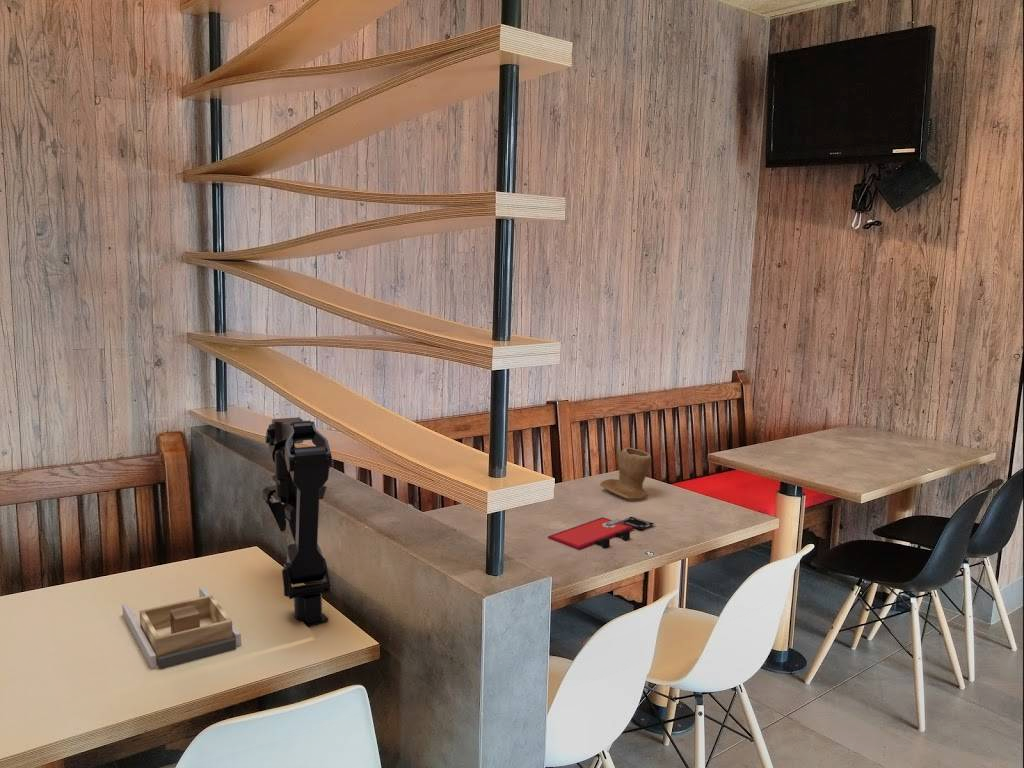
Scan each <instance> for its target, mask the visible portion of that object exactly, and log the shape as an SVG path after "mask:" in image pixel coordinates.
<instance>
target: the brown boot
mask: <svg viewBox="0 0 1024 768" xmlns="http://www.w3.org/2000/svg"><path fill="white" fill-rule="evenodd" d="M651 465H652V455H651V454H650V453H649V452H647V451H644V450H642V449H637V448H633V447H625V448H623V449H622V450H621V451H620V453H619V457H618V476H619V477H618V479H616V478H609V479H606V480H602V481H601V482H600V483H599V486H600V487H601V488H602V489H605V490H607V491H609V492H611V493H612V494H614V495H617V496H619V497H621V498H623V499H626V500H641V499H644V498H646V497H647V496H648V493H647V492H646V491H645V489H644V488H643V486H644V482H645V479H646V477H647V475H648V473H649V472H650V467H651Z"/></svg>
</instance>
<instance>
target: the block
mask: <svg viewBox="0 0 1024 768" xmlns="http://www.w3.org/2000/svg"><path fill="white" fill-rule="evenodd" d="M170 625H171V634H173V633H177V632H181V631H185V630H189V629H193V628H197V627H200V617H199V612H198V611H197V610H196V608H195V607H194V605H191V606H187V607H183V608H178V609H174V610H170Z"/></svg>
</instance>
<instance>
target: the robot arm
mask: <svg viewBox="0 0 1024 768" xmlns="http://www.w3.org/2000/svg"><path fill="white" fill-rule="evenodd" d="M264 440H265V444H267V446H268V447H267V450H268V454H269V456H270V458H271V460H272V461H273V463H274V471H275V473H274V474H275V475H272V477H271V478H272V481H274V483H275V485H270V486H266V487H265V488H264V489H263V490H262V500H264V503H265V505H267V508H268V510H269V512H270V513H271V515H272V518H273V520H274V521H275V523H276V525H277V528H278V530H279V531H280V532H286V527H288V530H289V532H290V534H291V537H292V540H293V542H294V543H292V544H289V545H288V547H287V552H286V553H287V555H286V562H285V563H284V564H283V569H282V570H281V576H282V585H283V595H284V597H287V598H288V599H289V600H293V612H294V614H293V617H294V619H295V620H296V621H297V622H303V624H304V625H305V626H306V627H311V626H315V625H318V624H322V623H326V622H328V621H329V617H327V615H326V614H325V613H324V612H323V597H322V596H323V594H330V592H331V582H330V576H329V572H328V571H329V570H328V566H327V560H326V558H325V557H324V554H323V552H322V550H321V547H320V546H319V543H318V535H319V533H318V532H319V511H320V499H324V497H325V495H326V490H327V488H328V487H327V485H325V484H326V483H327V482H328V480H329V475H330V469H331V468H332V467H333V456H332V451H331V449H330V444H329V441H328V439H327V438H326V437H325V436H324V435H323V434H322V433H321V432H319V431H318V430H317V427H316V425H315V422H314V421H311V420H304V419H302V418H301V417H298V416H297V417H283V418H273V419H272V420H271V423H269V424H268V428H267V429H266V433H265V438H264ZM304 441H311V442H312V444H313V446H301V447H296V445H295V444H303V443H304ZM319 581H321V582H319ZM312 582H313V583H312ZM314 582H316V583H314ZM306 583H309V584H306ZM299 584H302V585H299ZM295 585H296V586H295Z"/></svg>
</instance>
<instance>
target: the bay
mask: <svg viewBox="0 0 1024 768" xmlns="http://www.w3.org/2000/svg"><path fill="white" fill-rule="evenodd" d="M198 589H199V590H198V591H199V594H198V595H199V597H204V596H208V595H211V593H210V592H209V591H208V590H207V589H206V587H205V586H200V587H198ZM121 605H122V606H121V609H122V616H123V618H124V620H125V622H126V624H127V625H128V628H129V630H130V631H131V633H132V635H133V637H134V639H135V641H136V643H137V644H138V647H139V648H140V651H141V653H142V655H143V656H144V658H145V660H146V662H147V664H148V667H149V668H150V670H153V669H156V668H157V667H158V668H159V670H162V669H167V668H171V667H174V666H178V665H181V664H185V663H190V662H193V661H197V660H201V659H204V658H207V657H212V656H215V655H218V654H219V655H221V654H223V653H226V652H231V651H235V650H236V649H237V647H239V646H242V633H241V632H240V631H239V629H238V628H237V626H236V625H235V624H234V623H233V622H232V632H233V638H231V639H227V640H223V641H219V642H216V643H212V644H208V645H204V646H200V647H196V648H192V649H188V650H184V651H181V652H177V653H173V654H169V655H165V656H161V657H158V664H157V663H156V654H155V652H154V651H153V649H152V647H151V645H150V643H149V642H148V640H147V638H146V636H145V634H144V632H143V631H142V629H141V627H140V622H138V619H137V618H136V616H135V615H134V612H133V610H132V608H131V607H130V605H129V603H128V602H126V603H122V604H121Z"/></svg>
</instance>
